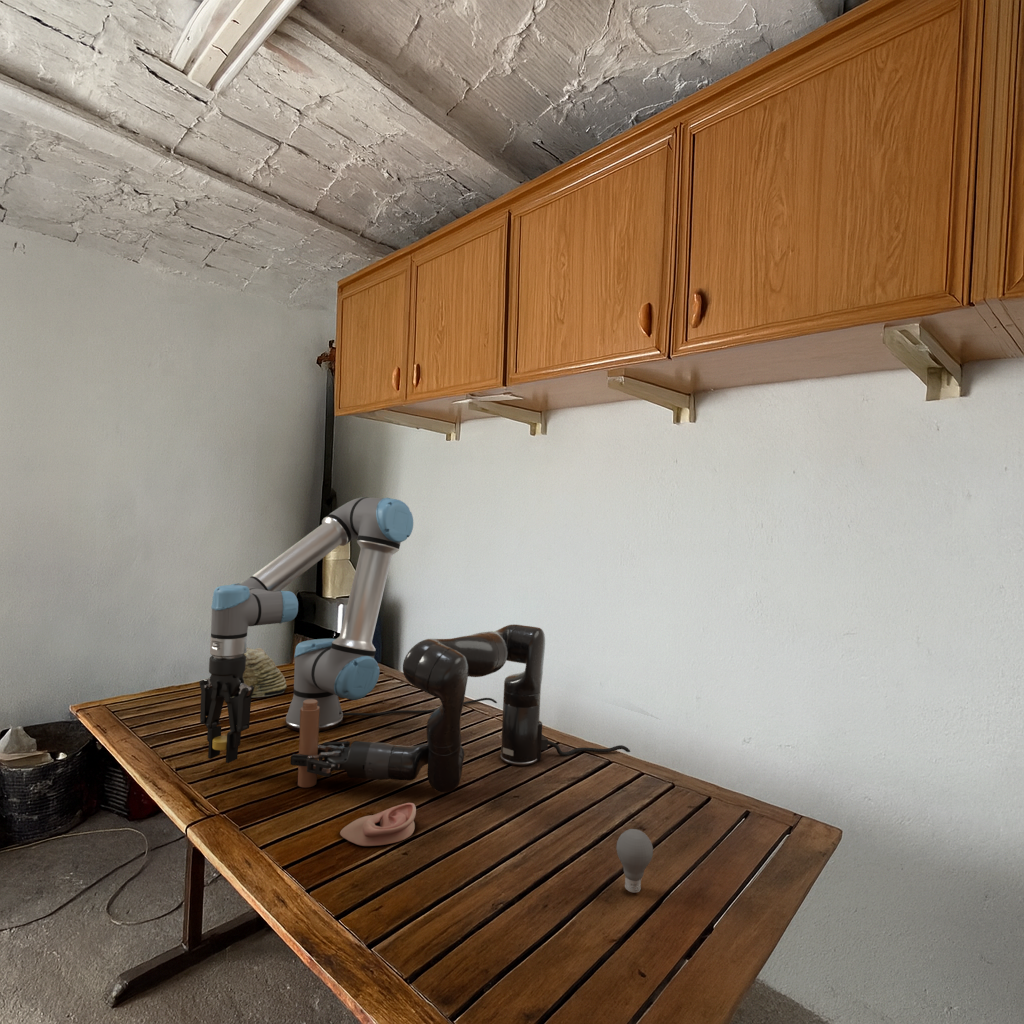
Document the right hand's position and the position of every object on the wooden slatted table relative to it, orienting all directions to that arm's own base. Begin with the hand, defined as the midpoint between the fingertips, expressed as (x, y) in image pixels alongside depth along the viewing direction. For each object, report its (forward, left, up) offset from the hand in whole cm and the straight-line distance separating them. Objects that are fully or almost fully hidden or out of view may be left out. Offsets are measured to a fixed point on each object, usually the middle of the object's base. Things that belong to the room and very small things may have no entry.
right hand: (296, 755), depth 140 cm
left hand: (+15, -9, -3) cm, 18 cm away
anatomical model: (-14, +26, -6) cm, 30 cm away
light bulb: (-51, +57, -6) cm, 76 cm away
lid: (+15, -9, +2) cm, 17 cm away
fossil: (+9, -66, -6) cm, 67 cm away
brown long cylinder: (-2, +1, -6) cm, 7 cm away
